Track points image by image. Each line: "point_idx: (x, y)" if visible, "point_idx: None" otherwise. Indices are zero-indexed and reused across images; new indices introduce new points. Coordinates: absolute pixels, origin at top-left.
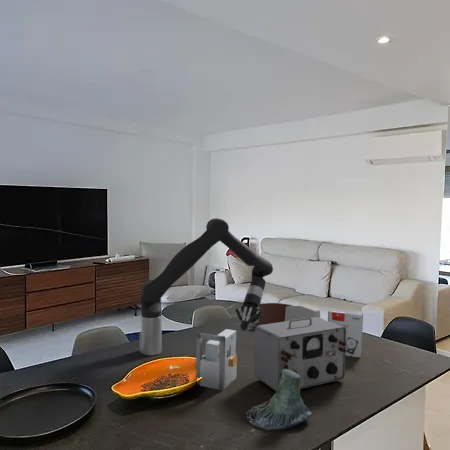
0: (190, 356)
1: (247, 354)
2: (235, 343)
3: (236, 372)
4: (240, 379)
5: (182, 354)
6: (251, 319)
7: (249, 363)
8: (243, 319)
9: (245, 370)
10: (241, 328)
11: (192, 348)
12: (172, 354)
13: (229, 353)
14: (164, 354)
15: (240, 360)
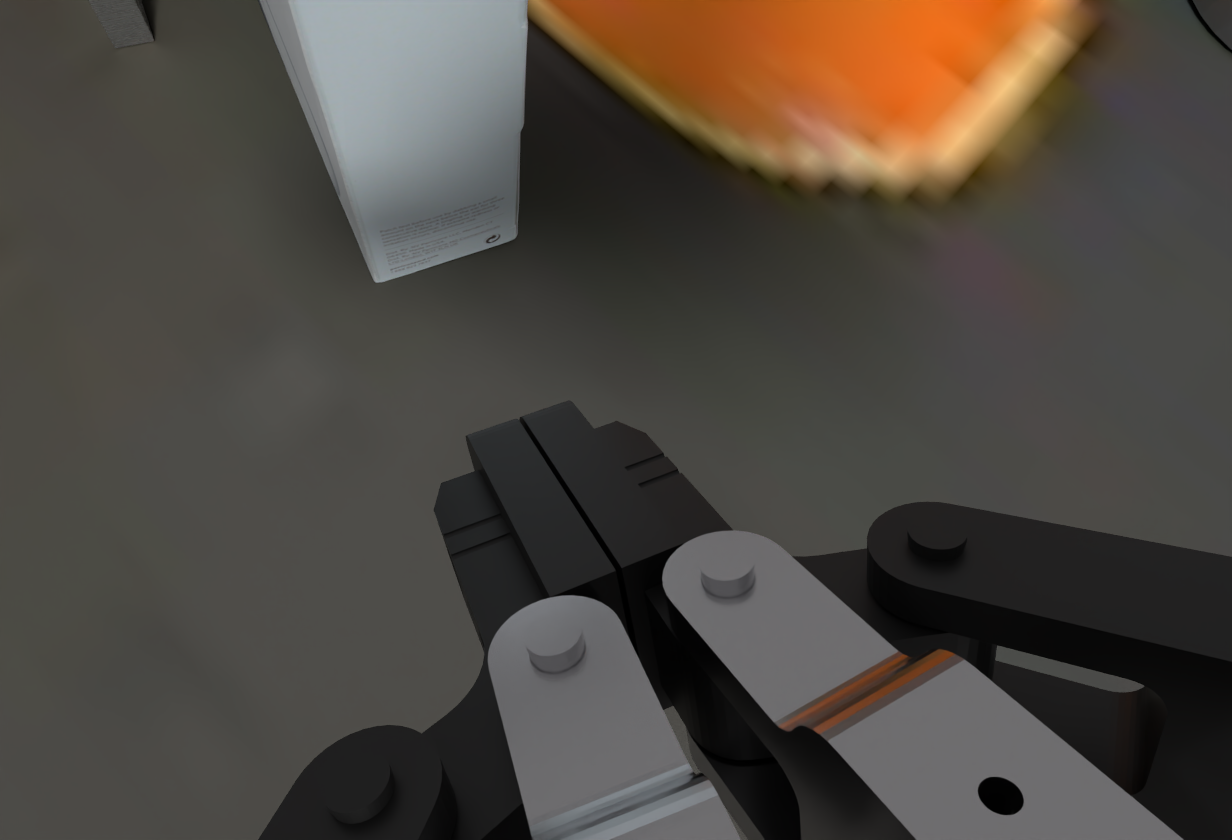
0: (972, 160)
1: None
2: (294, 40)
3: (89, 1)
4: (32, 34)
5: (1070, 146)
6: (329, 800)
7: (281, 502)
8: (715, 557)
9: (160, 272)
10: (555, 411)
11: (1185, 351)
12: (1121, 82)
13: None
14: (1159, 35)
15: None
